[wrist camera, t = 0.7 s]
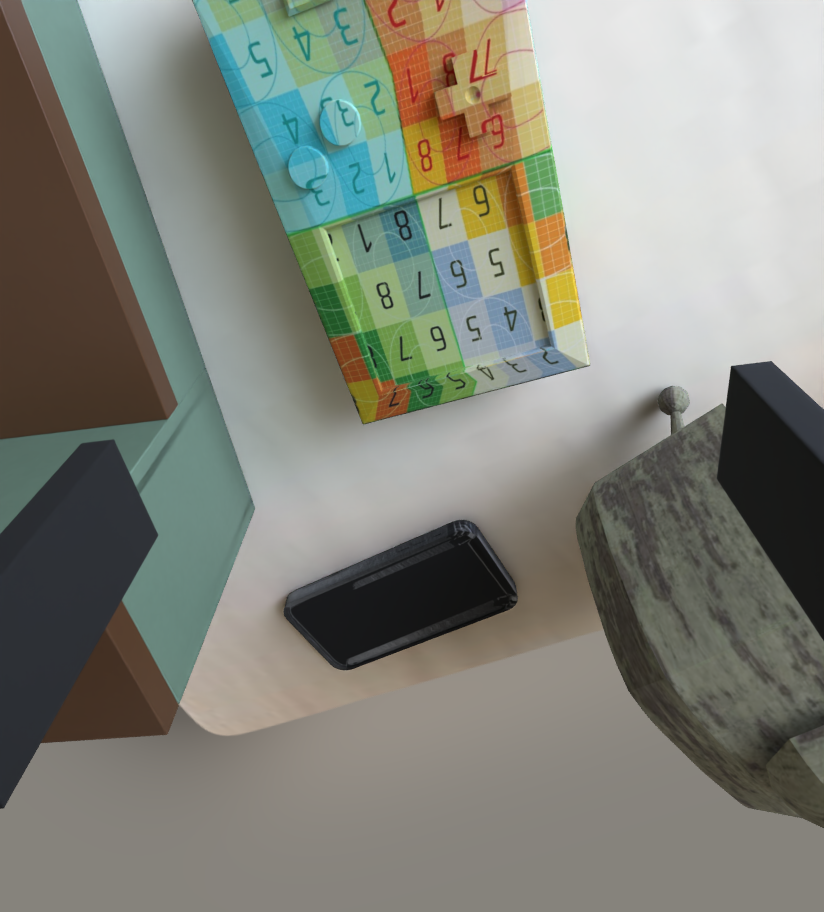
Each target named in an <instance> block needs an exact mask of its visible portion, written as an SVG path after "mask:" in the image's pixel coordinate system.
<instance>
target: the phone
mask: <svg viewBox="0 0 824 912" xmlns="http://www.w3.org/2000/svg"><path fill="white" fill-rule="evenodd" d="M517 599H518V596H517V590H516V585H515V582H514V581H513V579H512V578H511V576H510V575H509V573H508V572H507V570H506V569H505V567H504V566H503V564H502V563H501V561H500V560H499V558H498V557H497V555H496V554H495V553H494V551H493V550H492V548H491V547H490V545H489V544H488V542H487V541H486V539H485V538H484V536H483V535H482V533H481V532H480V530H479V529H478V527H477V526H476V525H475V524H473V523H472V522H470V521H465V520H458V521H454V522H452V523H449V524H447V525H445V526H442V527H440V528H438V529H436V530H433V531H431V532H429V533H426V534H424V535H422V536H419V537H417V538H415V539H413V540H410V541H408V542H406V543H403V544H401V545H399V546H397V547H394V548H392V549H390V550H387V551H385V552H383V553H380V554H378V555H376V556H374V557H371V558H369V559H367V560H364V561H362V562H360V563H358V564H355V565H353V566H351V567H348V568H346V569H344V570H341V571H339V572H337V573H335V574H332V575H330V576H328V577H325V578H323V579H321V580H319V581H316V582H314V583H312V584H309V585H307V586H305V587H302V588H300V589H298V590H296V591H293V592H292V593H290V594H289V595H288V597H287V600H286V604H285V607H284V616H285V617H286V619H287V620H288V621H289V622H290V623H291V624H292V625H293V626H294V627H295V628H296V629H297V630H298V631H299V632H300V633H301V634H302V635H303V637H304V638H305V639H306V640H307V641H308V642H309V643H310V644H311V645H312V646H313V647H314V648H315V649H316V650H317V651H318V652H319V653H320V654H321V655H322V656H323V657H324V658H325V659H326V660H327V661H328V662H329V663H330V665H332V666H333V667H334V668H337V669H340V670H351V669H354V668H357V667H359V666H362V665H365V664H367V663H370V662H372V661H375V660H378V659H380V658H383V657H386V656H388V655H391V654H394V653H396V652H399V651H402V650H404V649H407V648H409V647H412V646H415V645H417V644H420V643H423V642H425V641H428V640H431V639H433V638H436V637H439V636H441V635H444V634H446V633H449V632H452V631H454V630H457V629H460V628H462V627H465V626H468V625H470V624H473V623H475V622H478V621H481V620H483V619H486V618H489V617H491V616H494V615H497V614H499V613H502V612H505V611H507V610H509V609H511V608H513V607H514V606H515V605H516V603H517Z"/></svg>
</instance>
